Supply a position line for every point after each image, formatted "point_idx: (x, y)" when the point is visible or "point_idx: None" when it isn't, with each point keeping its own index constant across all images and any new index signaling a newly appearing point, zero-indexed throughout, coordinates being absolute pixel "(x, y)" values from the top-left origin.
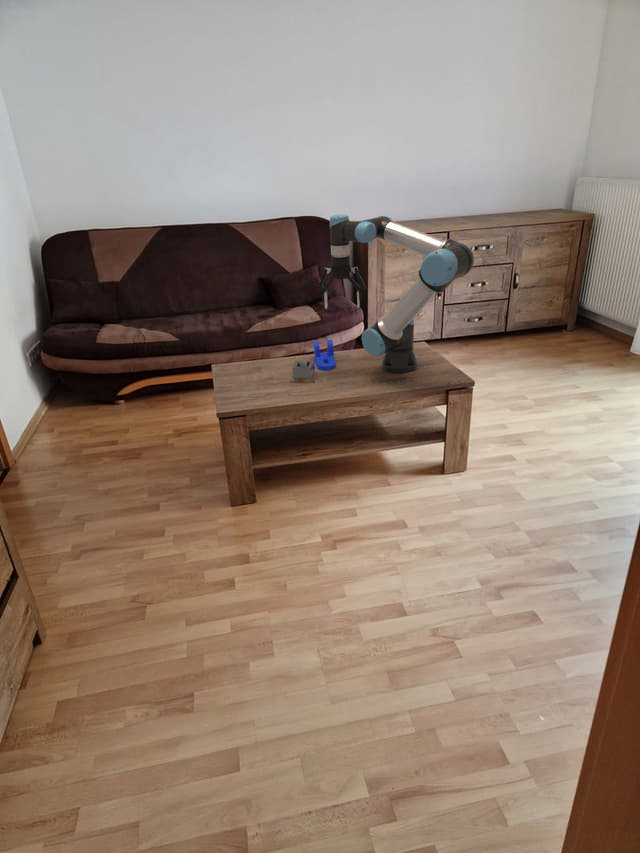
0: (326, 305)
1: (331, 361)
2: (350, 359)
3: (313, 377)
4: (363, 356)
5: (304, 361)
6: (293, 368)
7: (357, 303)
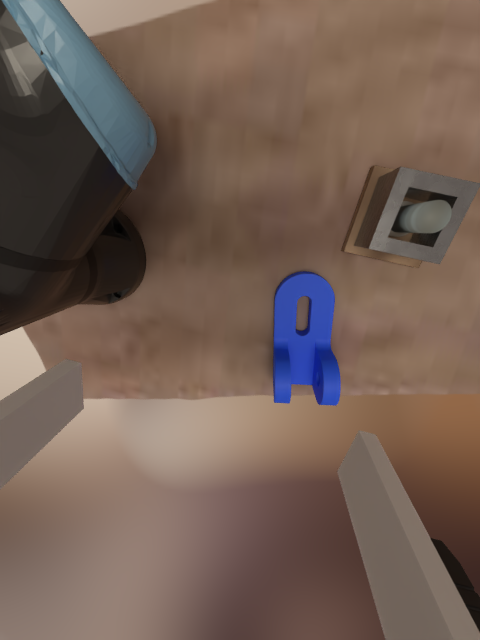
0: (372, 456)
1: (286, 313)
2: (228, 341)
3: (370, 191)
4: (192, 353)
5: (429, 202)
6: (473, 183)
7: (43, 387)
